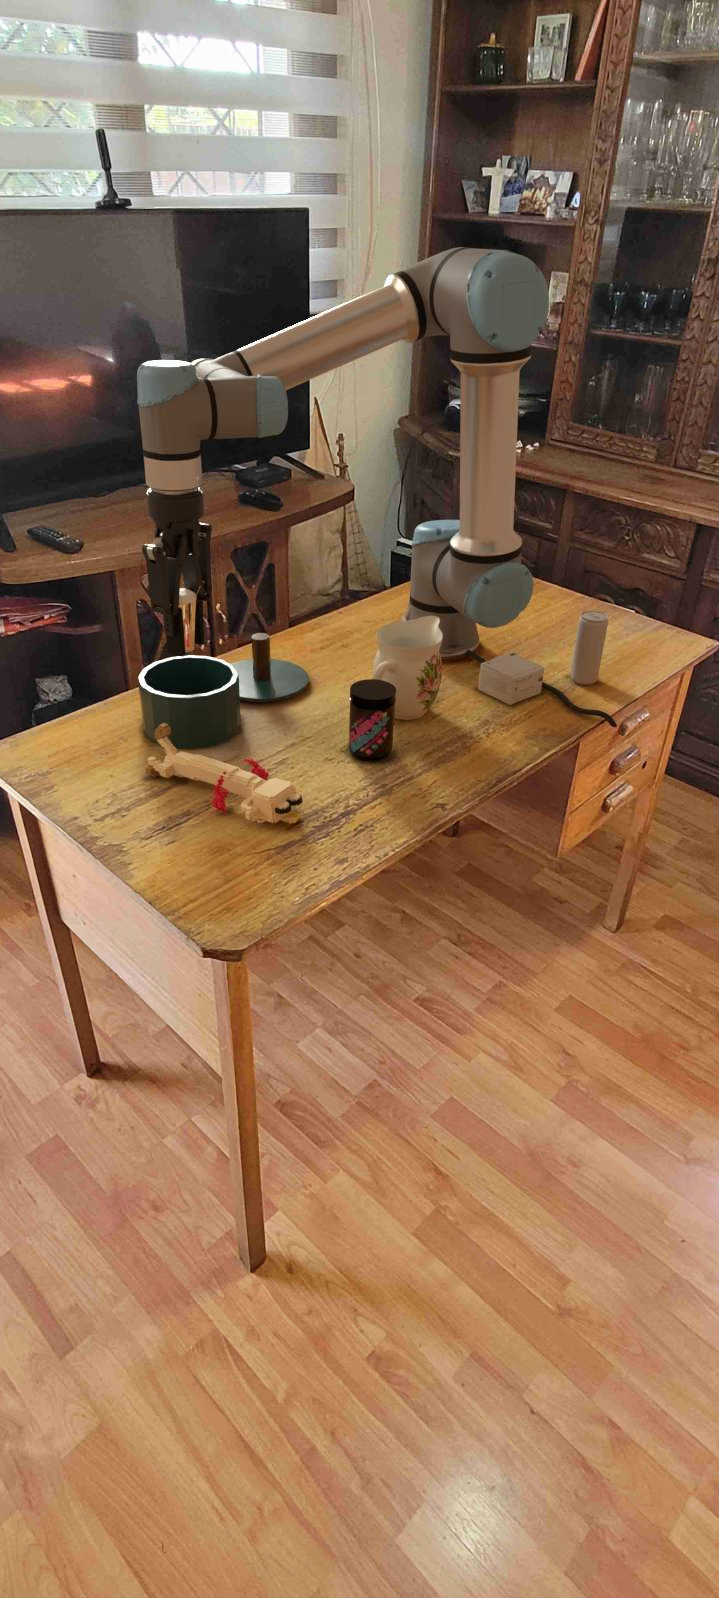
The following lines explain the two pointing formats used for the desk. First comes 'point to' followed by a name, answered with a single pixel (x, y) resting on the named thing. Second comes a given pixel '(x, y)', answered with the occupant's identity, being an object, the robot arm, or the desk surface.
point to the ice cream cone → (188, 616)
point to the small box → (510, 678)
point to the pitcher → (410, 663)
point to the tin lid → (268, 674)
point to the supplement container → (371, 719)
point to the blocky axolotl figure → (230, 782)
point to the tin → (191, 700)
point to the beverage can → (589, 647)
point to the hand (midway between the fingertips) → (186, 647)
